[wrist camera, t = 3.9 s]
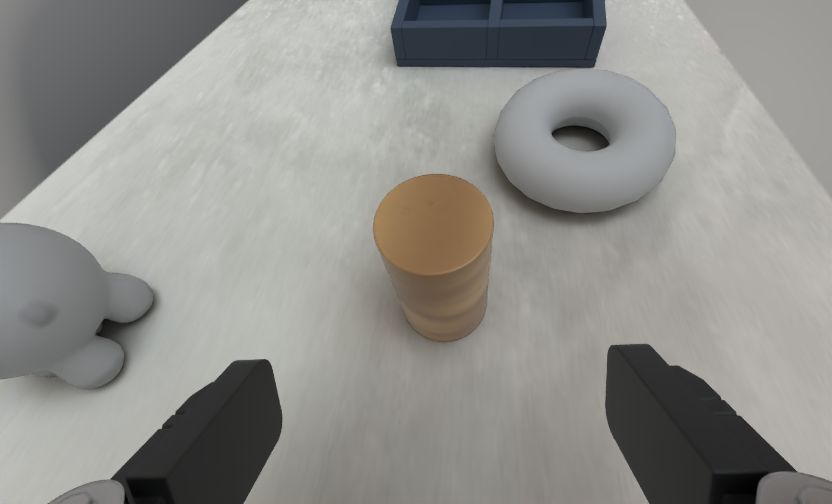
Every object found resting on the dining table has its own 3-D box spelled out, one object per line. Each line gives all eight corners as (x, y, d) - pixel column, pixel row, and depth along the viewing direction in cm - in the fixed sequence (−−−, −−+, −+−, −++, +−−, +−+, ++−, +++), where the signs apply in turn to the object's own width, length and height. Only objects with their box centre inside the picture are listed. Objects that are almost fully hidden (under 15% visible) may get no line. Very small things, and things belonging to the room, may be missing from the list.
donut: (460, 168, 26) (600, 257, 22) (458, 127, 23) (619, 221, 19) (554, 82, 29) (695, 146, 24) (563, 35, 26) (725, 99, 21)
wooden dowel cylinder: (489, 268, 22) (498, 176, 15) (482, 347, 20) (488, 282, 13) (411, 261, 23) (385, 169, 16) (397, 336, 21) (360, 269, 14)
